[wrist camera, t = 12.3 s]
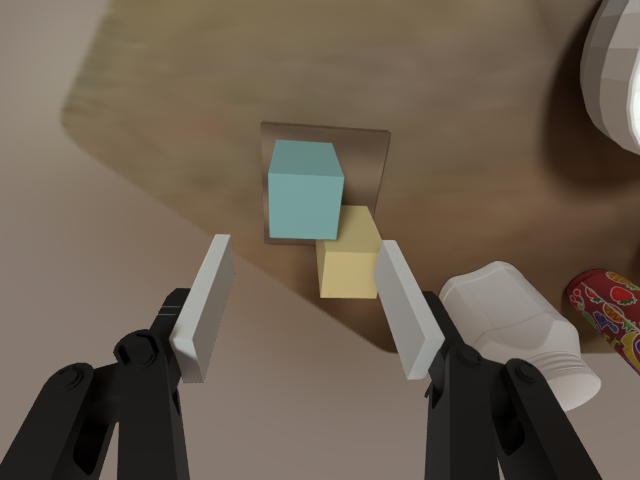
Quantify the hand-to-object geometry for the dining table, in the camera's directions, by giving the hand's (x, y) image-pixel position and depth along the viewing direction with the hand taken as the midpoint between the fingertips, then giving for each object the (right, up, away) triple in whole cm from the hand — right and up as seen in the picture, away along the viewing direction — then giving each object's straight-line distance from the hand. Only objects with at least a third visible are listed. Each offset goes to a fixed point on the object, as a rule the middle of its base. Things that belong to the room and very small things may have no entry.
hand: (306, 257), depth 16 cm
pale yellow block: (+3, +3, +16) cm, 16 cm away
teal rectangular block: (-1, +8, +12) cm, 14 cm away
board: (+1, +6, +14) cm, 16 cm away
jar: (+23, -6, +25) cm, 35 cm away
